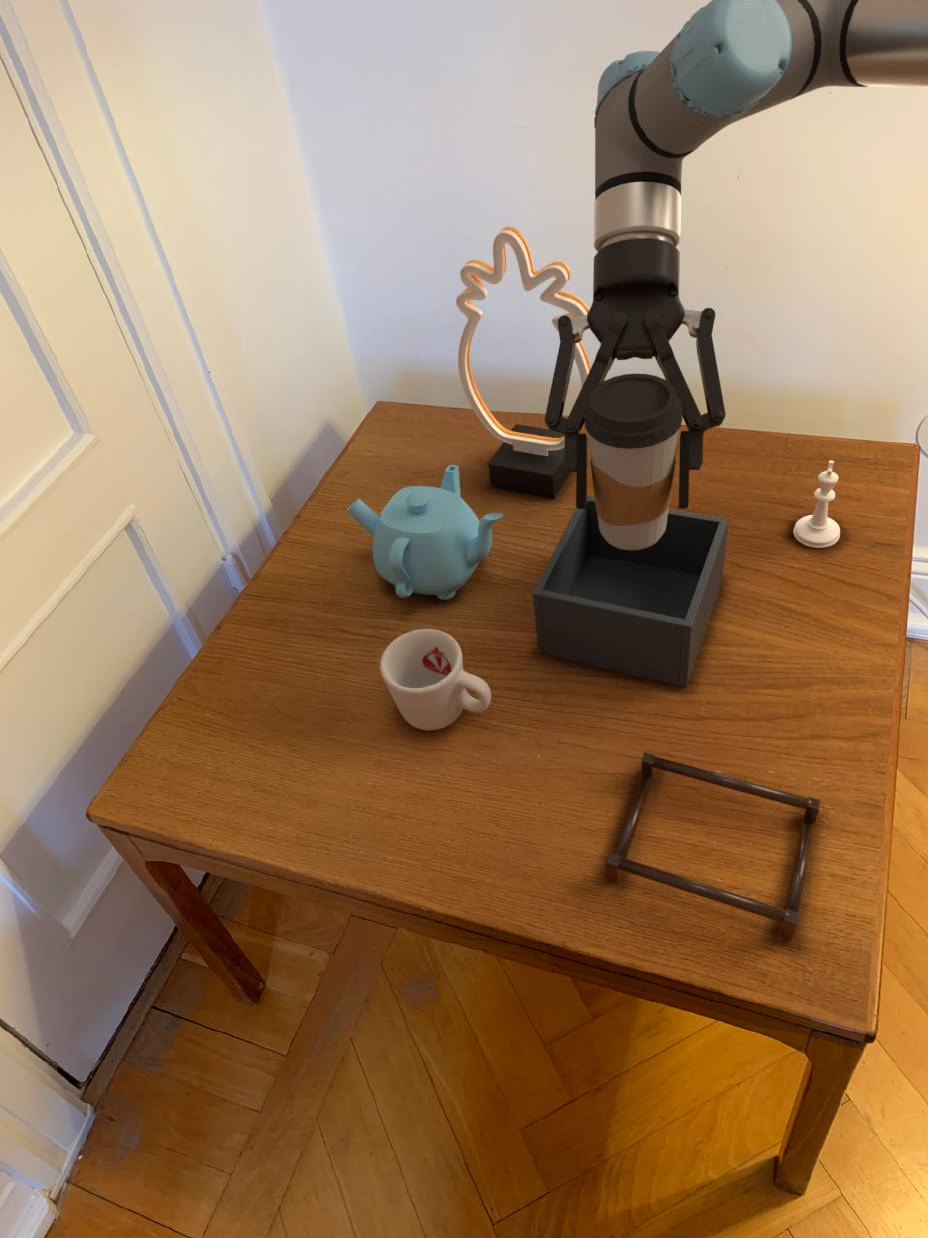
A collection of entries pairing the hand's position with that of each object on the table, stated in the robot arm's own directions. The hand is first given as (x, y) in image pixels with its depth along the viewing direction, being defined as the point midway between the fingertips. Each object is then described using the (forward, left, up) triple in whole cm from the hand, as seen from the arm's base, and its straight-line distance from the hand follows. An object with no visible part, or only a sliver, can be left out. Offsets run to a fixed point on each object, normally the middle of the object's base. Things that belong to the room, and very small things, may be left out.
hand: (631, 507), depth 77 cm
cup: (+15, +15, -18) cm, 28 cm away
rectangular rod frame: (-13, +21, -18) cm, 30 cm away
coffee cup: (+1, -3, -6) cm, 7 cm away
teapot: (+25, -4, -18) cm, 31 cm away
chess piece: (-15, -21, -18) cm, 32 cm away
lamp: (+20, -24, -18) cm, 36 cm away
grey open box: (+1, -3, -18) cm, 18 cm away
